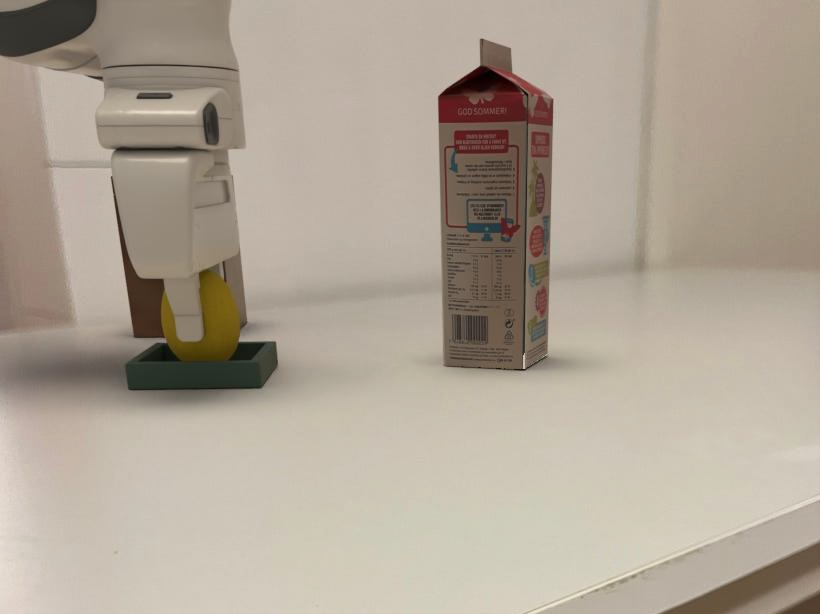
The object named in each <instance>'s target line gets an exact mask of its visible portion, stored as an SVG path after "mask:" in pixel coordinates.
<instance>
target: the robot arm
mask: <svg viewBox="0 0 820 614" xmlns="http://www.w3.org/2000/svg"><path fill="white" fill-rule="evenodd" d="M232 5H233V0H0V57H2V58H5V59H7V60H10V61H12V62H14V63H15V62H16V63H19V64H22V65H29V66H32V67H33V66H34V67H40V68H44V69H48V70H52V71H55V72H62V73H68V74H77V75H83V76H86V77H88V78H91V79H93V80H96V81H99V82H102V83H103V89H104V90H103V99H102V101H101V102H100V103H99V105H98V106H97V108H96V110H95V113H94V119H95V120H94V121H95V126H96V127H95V128H96V134H97V139H98V143H99V145H100V147H101V148H103V149H105V150H112V152H111V157H110V170H111V176H112V178H113V183H114V189H115V194H116V199H117V204H118V209H119V214H120V219H121V224H122V229H123V233H124V238H125V243H126V247H127V251H128V254H129V257H130V260H131V262H132V265H133V267H134V269H135V271H136V273H137V275H138V276H139V277H140V278H146V279H164V287H165V293H166V295H167V298H168V301H169V304H170V306H171V309H172V312H173V315H174V319H175V326H176V334H177V337H178V339H179V340H181V341H182V342H198V341H200V340H201V339H203V338H204V337H205V335H206V326H205V315H204V313H202V309H201V302H200V295H199V289H200V281H199V272H202V271H204V270H206V269H207V270H210V271H212V272H214V273H215V274H217V275H218V276H220V277H221V278H222V279H223V280H224V272H223V263H222V262H223V261H225V260H227V259H229V258H231V257H233V256H236V255H237V254H238V252H239V243H240V231H239V222H238V214H237V213H238V212H237V205H236V204H237V203H236V196H235V197H234V193H235V188H234V189H233V182H234V181H233V182H232V176H231V175H232V171H231V165H230V155H229V151H230V150H244V149H246V148H247V138H246V129H245V119H244V117H245V116H244V105H243V95H242V85H241V74H240V65H239V62H238V58H237V56H236V53H235V50H234V47H233V43H232V38H231V32H230V31H231V30H230V17H231V10H232ZM235 203H236V204H235Z"/></svg>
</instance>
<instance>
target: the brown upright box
mask: <svg viewBox="0 0 820 614" xmlns="http://www.w3.org/2000/svg"><path fill="white" fill-rule="evenodd" d="M231 176H232V182H233V189H234V190H235V183H234V182H235V181H234V175H233V174H231ZM110 181H111V182H110V183H111V189H112V194H113V196H112V197H113V203H114V210H115V215H116V216H115V217H116V225H117V231H118V237H119V244H120V252H121V258H122V265H123V272H124V278H125V286H126V293H127V299H128V305H129V314H130V318H131V319H130V321H131V326H132V327H131V328H132V333H133V338H165V336H164V332H163V328H162V322H161V304H162V297H163V293H164V290H165V287H164V279H146V278H140V277H139V276H138V275H137V273H136V271H135V269H134V267H133V265H132V262H131V260H130V257H129V254H128V251H127V247H126V243H125V238H124V233H123V229H122V224H121V219H120V214H119V209H118V204H117V199H116V194H115V189H114V183H113V178H112V175H111V176H110ZM234 197H235V198H236V194H235V192H234ZM235 204H237V202H235ZM222 263H223V272H224V281H225V282H226V283H227V285H228V286H229V288H230V289H231V291H232V293H233V296H234V298H235V301H236V304H237V308H238V312H239V318H240V329H242V328H243V327H244V326H245V325H246V324H247V323H248V317H247V316H248V315H247V314H248V313H247V305H246V295H245V285H244V275H243V267H242V266H243V265H242V253H241V245H240V242H239V252H238V254H237V255H236V256H233V257H231V258H229V259H227V260H225V261H223V262H222Z"/></svg>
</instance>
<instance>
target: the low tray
mask: <svg viewBox="0 0 820 614" xmlns="http://www.w3.org/2000/svg"><path fill="white" fill-rule="evenodd" d="M278 359H279V358H278V349H277V341H276V340H269V341H267V340H264V341H262V340H261V341H260V340H259V341H257V340H256V341H239V342H238V346H237V348H236V350H235V352H234V353H233V355H232V356H231V357H230V358H229V359H228V360H227V361H181V360H180V359H179V358H178V357H177V356H176V355H175V354H174V353H173V352H172V350H171V349H170V347H169V345H168V343H167V342H155V343H154V344H152V345H151V346H149V347H148V348H146V349H145V350H143V351H142V352H140V353H139V354H137V355H135V356H134V357H132V358H131V359H130V360H128V361H127V362H125V363H124V370H125V376H126V382H127V389H128V390H188V389H189V390H190V389H248V388H249V389H253V388H254V389H255V388H257V389H258V388H262V387H263V386H264V384H265V383H266V381H267V380H268V379H269V378H270V376H271V375H272V373H273V372H274V370H275V369H276V368H277V366H278V365H279V360H278Z"/></svg>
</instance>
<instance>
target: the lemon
mask: <svg viewBox="0 0 820 614" xmlns="http://www.w3.org/2000/svg"><path fill="white" fill-rule="evenodd" d="M199 281H200V289H199V295H200V302H201V309H202V313H204V315H205V326H206V335H205V337H204V338H203V339H201V340H200V341H198V342H182V341H181V340H179V339H178V337H177V334H176V326H175V319H174V315H173V312H172V309H171V306H170V304H169V301H168V298H167V295H166V293H165V290H164V293H163V297H162V304H161V322H162V328H163V332H164V336H165V337H164V338H165V341H166V343H168V345H169V347H170V349H171V350H172V352H173V353H174V354H175V355H176V356H177V357H178V358H179V359H180V360H181V361H227V360H228V359H229V358H230V357H231V356H232V355H233V353H234V352H235V350H236V348H237V346H238V342H240V337H241V328H240V318H239V312H238V308H237V304H236V301H235V298H234V296H233V293H232V291H231V289H230V288H229V286H228V285H227V283H226V282H225V281H224V280H223V279H222V278H221V277H220V276H218V275H217V274H215V273H214V272H212V271H210V270H207V269H206V270H204V271H202V272H199Z"/></svg>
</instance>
